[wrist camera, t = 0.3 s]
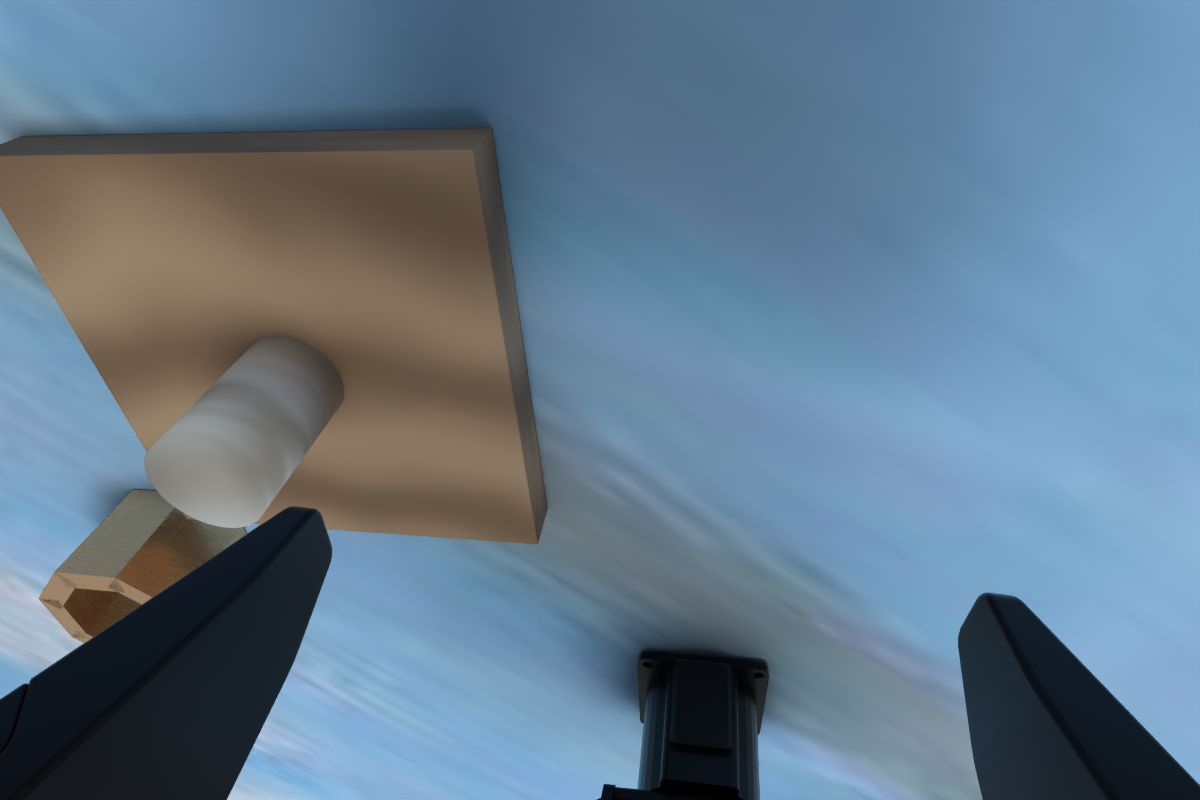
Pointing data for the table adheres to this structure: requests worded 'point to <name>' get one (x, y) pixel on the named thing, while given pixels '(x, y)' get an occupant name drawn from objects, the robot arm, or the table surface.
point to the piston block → (298, 319)
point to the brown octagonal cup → (129, 562)
